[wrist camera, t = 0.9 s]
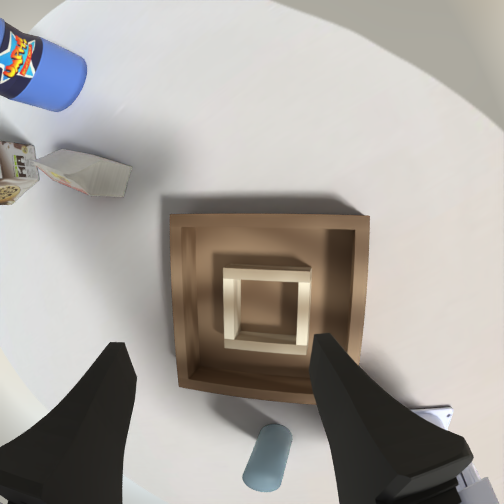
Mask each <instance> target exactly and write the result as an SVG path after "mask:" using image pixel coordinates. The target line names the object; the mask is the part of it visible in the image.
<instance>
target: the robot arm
mask: <svg viewBox="0 0 504 504" xmlns="http://www.w3.org/2000/svg"><path fill="white" fill-rule="evenodd" d="M309 375H310V381H311V386H312V391H313V395H314V398H315V401H316V404H317V407H318V410H319V413H320V416H321V419H322V422H323V425H324V428H325V432H326V435H327V438H328V441H329V445H330V449H331V454H332V459H333V465H334V470H335V476H336V482H337V489H338V496H339V503H340V504H499V501H498V499H497V497H496V494H495V492H494V490H493V488H492V485H491V483H490V481H489V479H488V477H485V478H483V479H481V478H480V476H479V474H478V472H477V470H476V468H475V466H474V464H473V462H472V460H473V458H474V457H473V454H472V452H471V450H470V448H469V446H468V444H467V442H466V440H465V439H464V437H462V436H459V435H457V434H454V433H452V432H450V431H447V429H448V426H449V423H450V420H451V417H452V414H453V411H454V410H453V408H452V407H447V408H434V409H416V410H409V409H408V408H406V407H405V406H403V405H402V404H401V403H399V402H398V401H396V400H395V399H394V398H393V397H391V396H390V395H389V394H388V393H387V392H385V391H384V390H383V389H382V388H381V387H380V386H379V385H377V384H376V383H375V382H374V381H373V380H372V379H371V378H370V377H369V376H368V375H367V374H366V373H365V372H364V371H363V370H362V369H361V368H360V367H359V366H358V365H357V363H356V362H355V361H354V360H353V359H352V358H351V357H350V356H349V355H348V353H347V352H346V351H345V350H344V349H343V348H342V346H341V345H340V344H339V343H338V342H337V340H336V339H335V338H334V337H333V336H332V334H330V333H321V334H314V338H313V345H312V351H311V358H310V364H309ZM136 382H137V376H136V373H135V371H134V368H133V365H132V363H131V360H130V357H129V354H128V352H127V349H126V346H125V343H124V342H110V343H109V344H108V345H107V346H106V348H105V349H104V350H103V351H102V353H101V354H100V355H99V357H98V358H97V359H96V360H95V362H94V363H93V364H92V366H91V367H90V368H89V369H88V371H87V372H86V373H85V374H84V376H83V377H82V378H81V379H80V380H79V382H78V383H77V384H76V385H75V386H74V387H73V389H72V390H71V391H70V392H69V393H68V394H67V395H66V396H65V398H64V399H63V400H62V401H61V402H60V403H59V404H58V405H57V406H56V407H55V408H54V409H53V410H51V411H50V412H49V413H48V414H47V415H46V416H45V417H44V418H42V419H41V420H40V421H39V422H37V423H36V424H35V425H34V426H32V427H31V428H30V429H28V430H27V431H26V432H24V433H23V434H21V435H20V436H18V437H17V438H15V439H14V440H12V441H10V442H9V443H7V444H5V445H3V446H1V447H0V495H1V496H3V497H4V498H5V499H7V500H8V504H122V476H123V459H124V450H125V444H126V439H127V434H128V429H129V425H130V420H131V415H132V411H133V406H134V401H135V393H136ZM448 414H449V415H448ZM447 415H448V416H447ZM0 504H2V503H0Z"/></svg>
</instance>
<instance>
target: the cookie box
mask: <svg viewBox="0 0 504 504" xmlns="http://www.w3.org/2000/svg"><path fill="white" fill-rule="evenodd" d="M31 160H36V157H35V150H34V146H31V145H25V144H18V143H12V142H5V141H0V205H12V204H13V203H14V202H15V201H16V200H17V199H18V198H20V197H21V196H22V195H23V194H24V193H25V192H26V191H27V190H28V189H29V188H31V187H32V186H33V185H34V184H35V183H36V182H38V181H39V176H38V170H37V167H36V166H35V165H32V164H35V163H34V162H32V161H31Z"/></svg>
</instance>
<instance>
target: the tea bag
mask: <svg viewBox="0 0 504 504" xmlns="http://www.w3.org/2000/svg"><path fill="white" fill-rule="evenodd" d="M31 161H32V162H34V163H35V164H32V165H35V166H36V167H38V168H39V169H41V170H42V171H43V172H44V173H45V174H46V175H47V176H49V177H50V178H51V179H52V180H54V181H56V182H58V183H61V184H63V185H66V186H68V187H71V188H73V189H75V190H78V191H80V192H83V193H85V194H88V195H90V196H106V197H124V194H125V190H126V187H127V183H128V180H129V177H130V173H131V170H132V167H131V166H128V165H125V164H121V163H118V162H115V161H112V160H109V159H105V158H102V157H99V156H95V155H92V154H86V153H81V152H76V151H71V150H65V149H60V150H57V151H55V152H53V153H51V154H48V155H46V156H44V157H41V158H39V159H36V160H31Z"/></svg>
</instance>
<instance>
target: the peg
mask: <svg viewBox="0 0 504 504" xmlns="http://www.w3.org/2000/svg"><path fill="white" fill-rule="evenodd" d="M291 442H292V434H291V432H290V430H289V429H287V428H286V427H284V426H282V425H278V424H270V425H267V426H265V427H263V428H262V429H261V431H260V433H259V436H258V439H257V441H256V444H255V446H254V449H253V451H252V454H251V456H250V459H249V461H248V464H247V466H246V468H245V471H244V473H243V476H242V478H243V481H244V483H245V484H246V485H247V486H248V487H250V488H251V489H253V490H256V491H260V492H271V491H274V490H276V489H278V488H279V487H280V485H281V482H282V478H283V474H284V470H285V467H286V463H287V459H288V455H289V451H290V446H291Z"/></svg>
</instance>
